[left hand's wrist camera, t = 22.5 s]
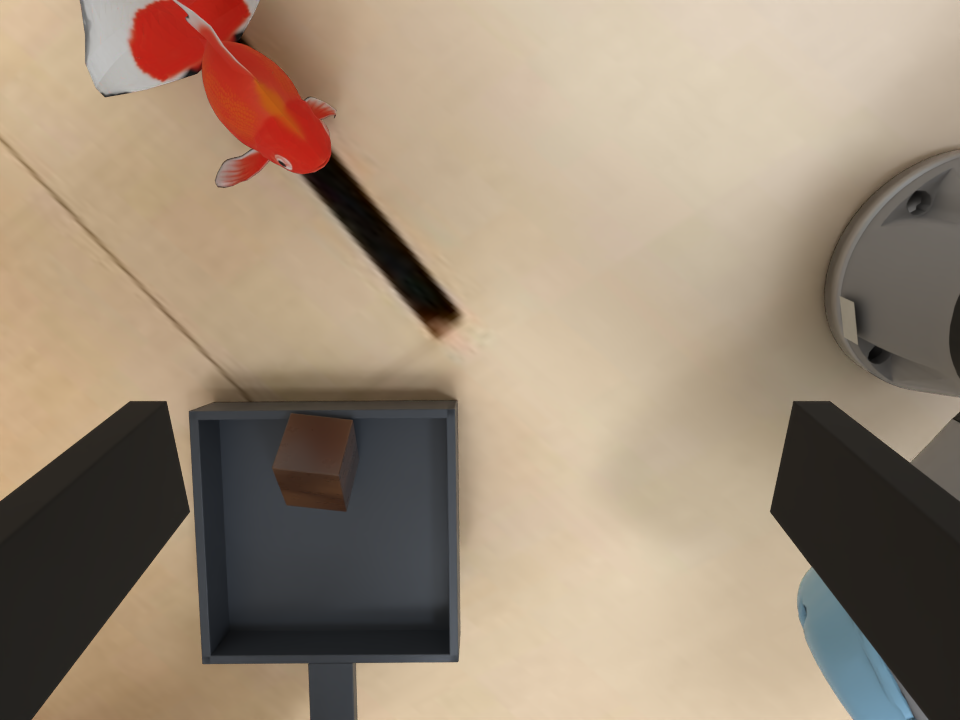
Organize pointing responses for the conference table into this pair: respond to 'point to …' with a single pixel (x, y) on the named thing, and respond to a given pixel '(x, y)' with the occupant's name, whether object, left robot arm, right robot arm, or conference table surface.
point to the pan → (328, 545)
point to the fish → (209, 76)
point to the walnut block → (317, 462)
